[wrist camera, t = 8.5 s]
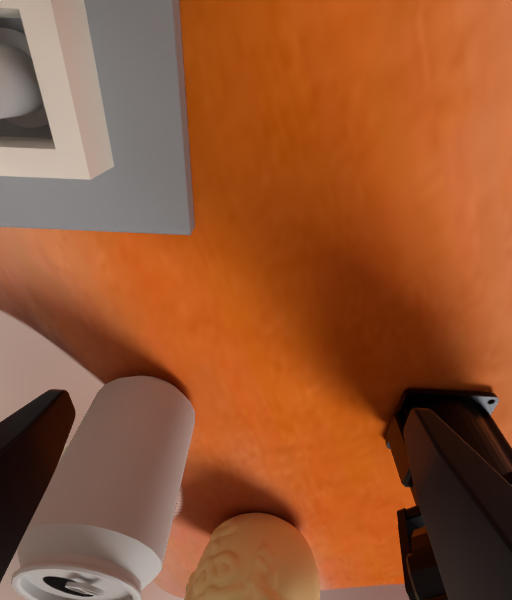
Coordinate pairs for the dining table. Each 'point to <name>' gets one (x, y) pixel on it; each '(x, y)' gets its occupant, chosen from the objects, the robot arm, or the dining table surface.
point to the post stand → (109, 126)
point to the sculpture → (255, 562)
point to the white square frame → (60, 95)
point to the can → (110, 497)
